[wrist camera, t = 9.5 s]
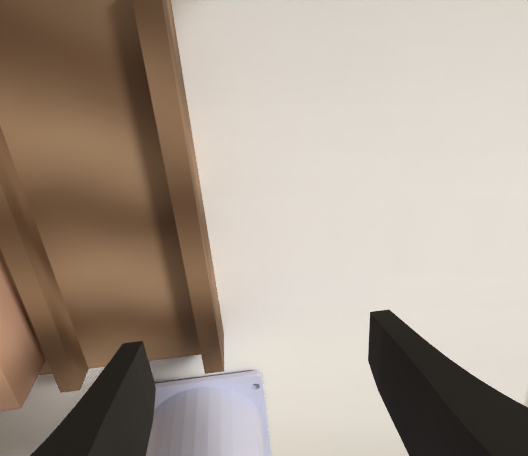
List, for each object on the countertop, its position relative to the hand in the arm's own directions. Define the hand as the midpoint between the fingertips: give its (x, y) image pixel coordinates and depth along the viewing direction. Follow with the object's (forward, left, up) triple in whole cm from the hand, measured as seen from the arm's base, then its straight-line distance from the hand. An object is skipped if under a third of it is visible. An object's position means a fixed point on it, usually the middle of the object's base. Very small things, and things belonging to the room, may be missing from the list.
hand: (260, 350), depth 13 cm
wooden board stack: (+2, +10, -9) cm, 14 cm away
